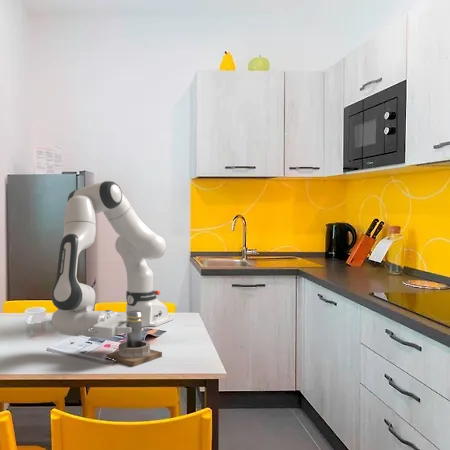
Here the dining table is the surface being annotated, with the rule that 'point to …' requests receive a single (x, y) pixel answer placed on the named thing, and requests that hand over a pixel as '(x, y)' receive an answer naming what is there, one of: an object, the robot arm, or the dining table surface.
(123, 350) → the collar plate
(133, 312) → the cylinder
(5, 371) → the dining table surface
